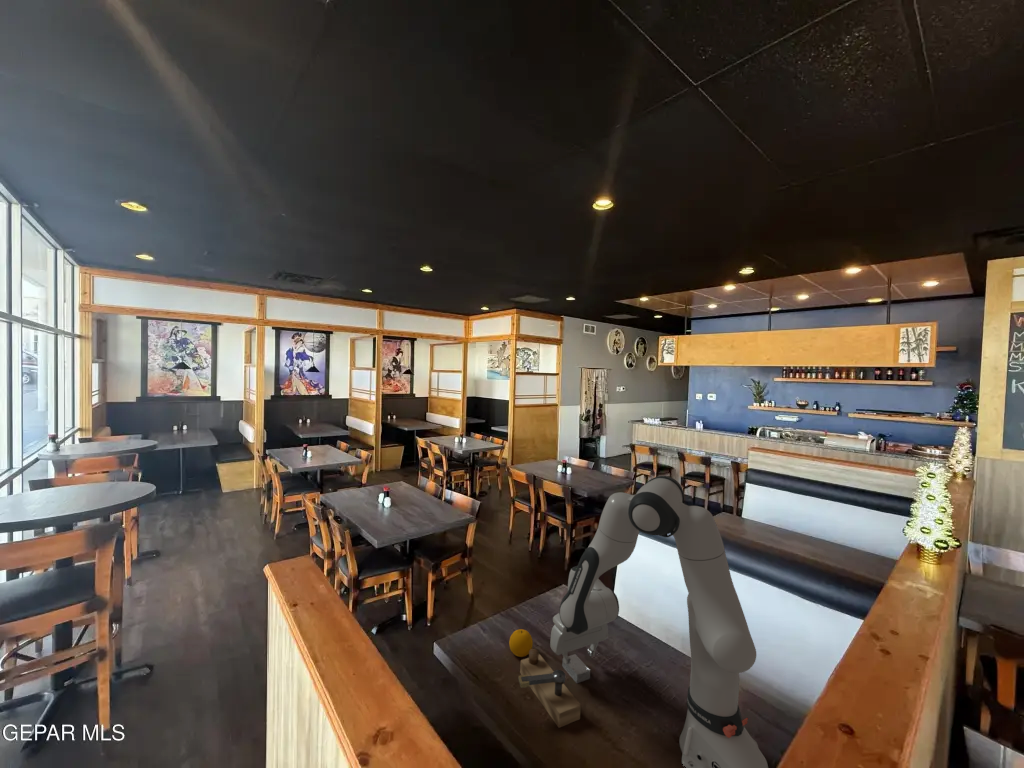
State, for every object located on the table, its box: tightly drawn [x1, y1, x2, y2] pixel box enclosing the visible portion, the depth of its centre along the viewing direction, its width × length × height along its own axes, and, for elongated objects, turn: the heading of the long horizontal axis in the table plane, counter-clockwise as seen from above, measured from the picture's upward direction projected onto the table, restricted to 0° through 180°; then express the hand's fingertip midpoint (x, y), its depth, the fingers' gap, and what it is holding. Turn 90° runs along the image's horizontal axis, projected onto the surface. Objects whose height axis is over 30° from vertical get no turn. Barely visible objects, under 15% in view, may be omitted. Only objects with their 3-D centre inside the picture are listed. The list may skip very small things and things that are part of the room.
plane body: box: [519, 648, 582, 729], centre depth 122 cm, size 22×7×8 cm, turn 27°
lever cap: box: [561, 653, 591, 684], centre depth 131 cm, size 8×5×3 cm, turn 27°
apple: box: [508, 628, 534, 658], centre depth 139 cm, size 8×8×8 cm
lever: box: [517, 669, 566, 689], centre depth 116 cm, size 13×4×2 cm, turn 102°
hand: (579, 658), depth 131 cm, fingers open, 8 cm apart
